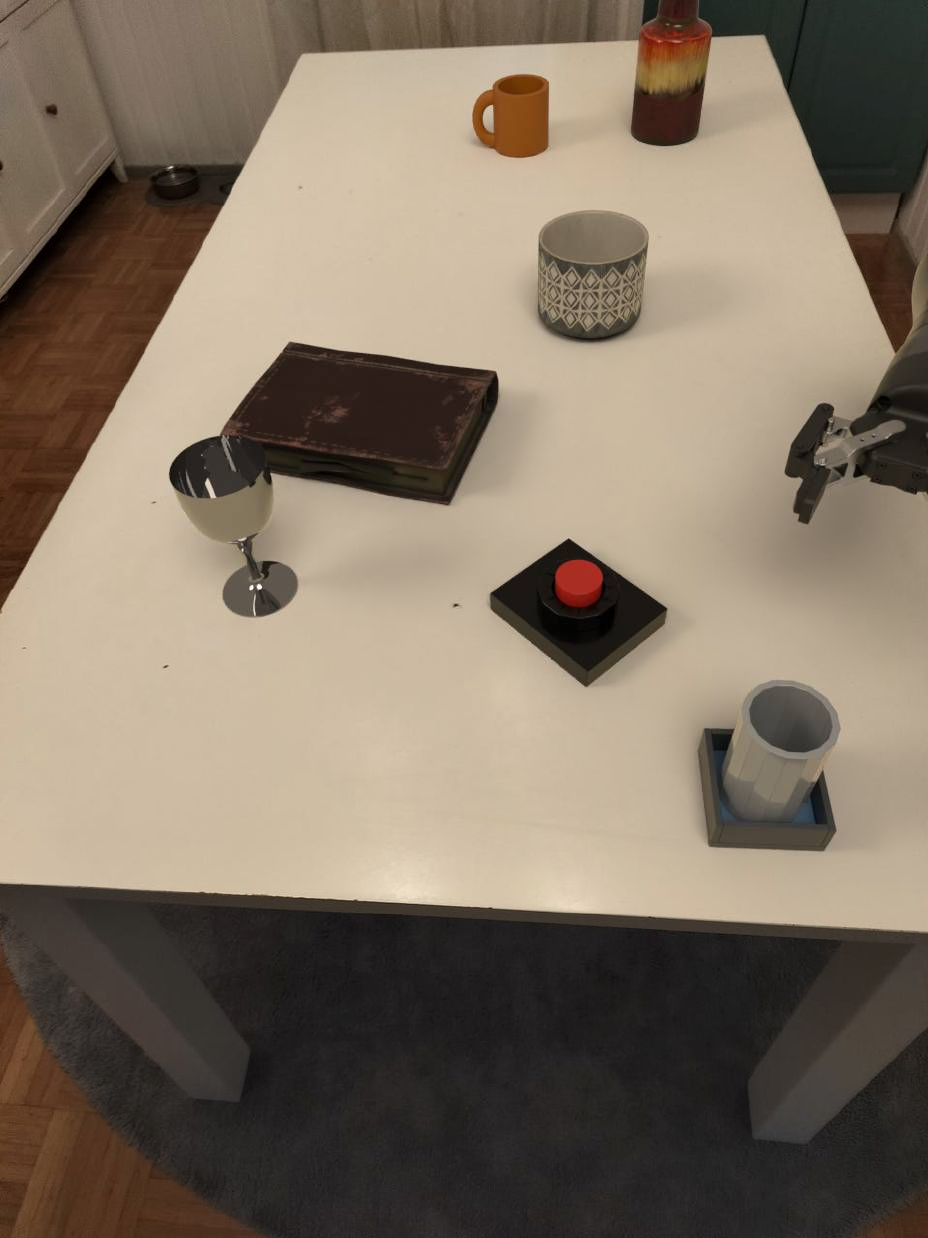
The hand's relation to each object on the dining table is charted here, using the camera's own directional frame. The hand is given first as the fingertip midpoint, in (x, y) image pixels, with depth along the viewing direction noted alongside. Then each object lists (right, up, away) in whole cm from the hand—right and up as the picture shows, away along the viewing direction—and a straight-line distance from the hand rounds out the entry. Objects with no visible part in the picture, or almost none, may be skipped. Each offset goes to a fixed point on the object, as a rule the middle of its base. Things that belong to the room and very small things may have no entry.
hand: (871, 535), depth 57 cm
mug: (-19, +71, +86) cm, 114 cm away
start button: (-17, -3, +19) cm, 26 cm away
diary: (-37, +15, +40) cm, 57 cm away
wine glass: (-46, -3, +26) cm, 53 cm away
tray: (-4, -19, +10) cm, 22 cm away
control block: (-16, -5, +22) cm, 28 cm away
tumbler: (-4, -18, +9) cm, 21 cm away
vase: (+6, +74, +86) cm, 114 cm away
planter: (-11, +32, +53) cm, 63 cm away
